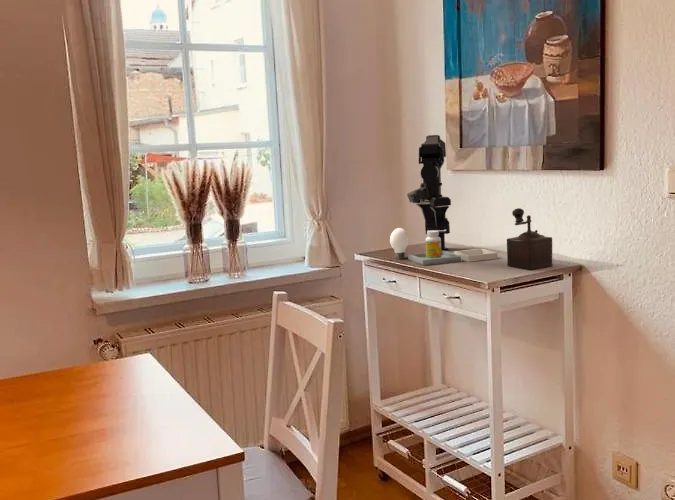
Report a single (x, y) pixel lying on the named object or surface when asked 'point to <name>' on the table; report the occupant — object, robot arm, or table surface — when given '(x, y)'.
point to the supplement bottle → (433, 245)
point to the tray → (445, 258)
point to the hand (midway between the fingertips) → (432, 225)
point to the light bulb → (399, 242)
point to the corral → (476, 254)
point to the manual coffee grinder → (528, 247)
